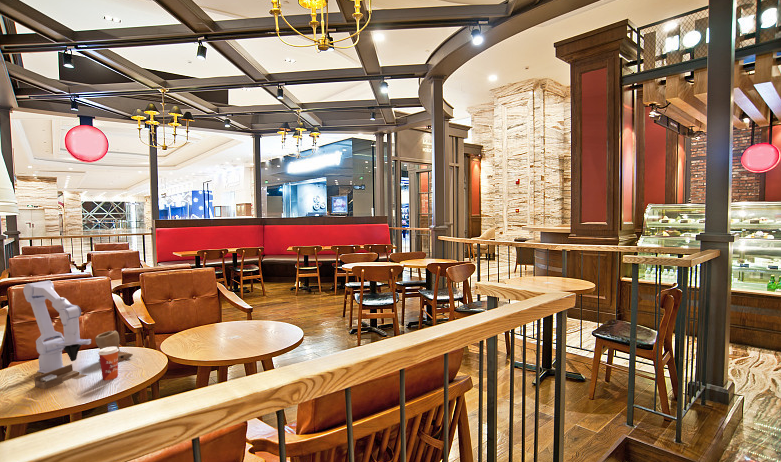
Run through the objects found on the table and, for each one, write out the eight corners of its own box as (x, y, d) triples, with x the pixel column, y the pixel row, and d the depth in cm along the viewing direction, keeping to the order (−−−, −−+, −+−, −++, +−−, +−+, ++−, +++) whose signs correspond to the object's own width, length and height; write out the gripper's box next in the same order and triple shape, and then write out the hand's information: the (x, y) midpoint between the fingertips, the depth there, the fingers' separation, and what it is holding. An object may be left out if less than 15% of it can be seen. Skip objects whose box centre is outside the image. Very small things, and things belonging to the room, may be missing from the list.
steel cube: (52, 383, 175) (41, 386, 171) (51, 374, 174) (40, 378, 171) (57, 384, 173) (46, 388, 169) (56, 375, 173) (46, 379, 169)
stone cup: (92, 362, 199) (90, 333, 198) (117, 354, 210) (115, 326, 209) (109, 366, 192) (106, 337, 191) (133, 358, 203) (132, 330, 202)
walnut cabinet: (35, 387, 170) (34, 376, 170) (73, 373, 185) (72, 363, 184) (49, 391, 167) (48, 379, 167) (87, 376, 181) (86, 366, 181)
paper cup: (109, 383, 174) (107, 352, 173) (95, 381, 175) (93, 351, 174) (125, 375, 181) (123, 346, 180) (111, 374, 183) (109, 345, 182)
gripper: (48, 336, 177) (50, 365, 178) (84, 333, 180) (86, 361, 181) (57, 331, 184) (59, 359, 185) (92, 328, 187) (94, 356, 188)
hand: (73, 360), depth 184 cm, fingers closed
